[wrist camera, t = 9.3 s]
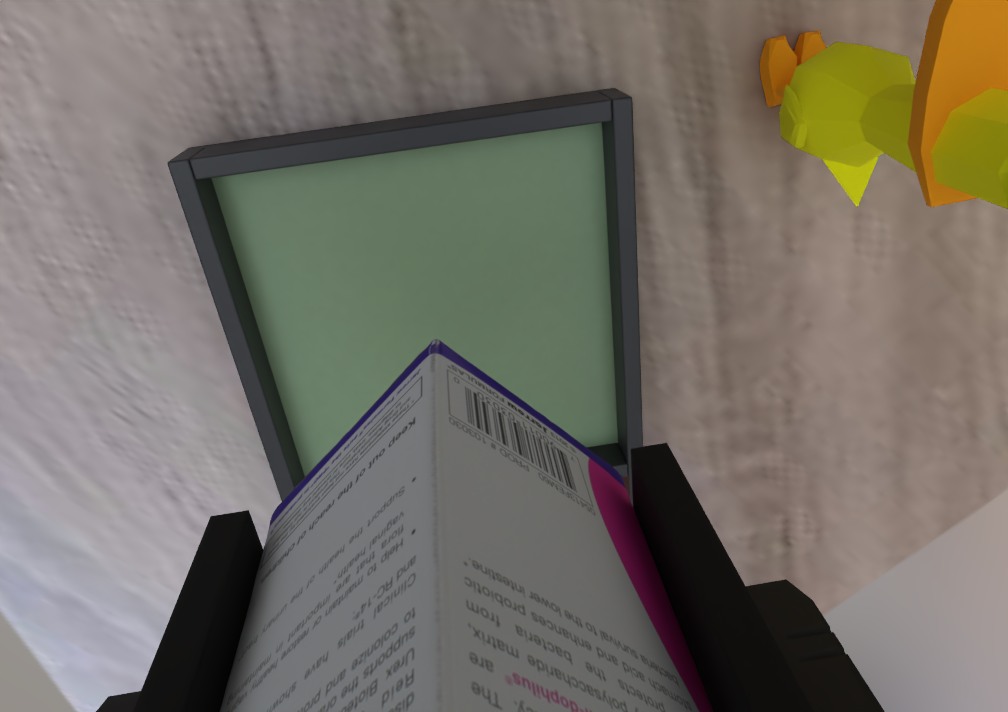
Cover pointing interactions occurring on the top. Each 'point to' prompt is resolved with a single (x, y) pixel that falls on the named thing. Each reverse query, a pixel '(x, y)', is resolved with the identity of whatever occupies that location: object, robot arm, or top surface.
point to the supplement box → (459, 569)
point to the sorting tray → (427, 265)
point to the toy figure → (903, 104)
